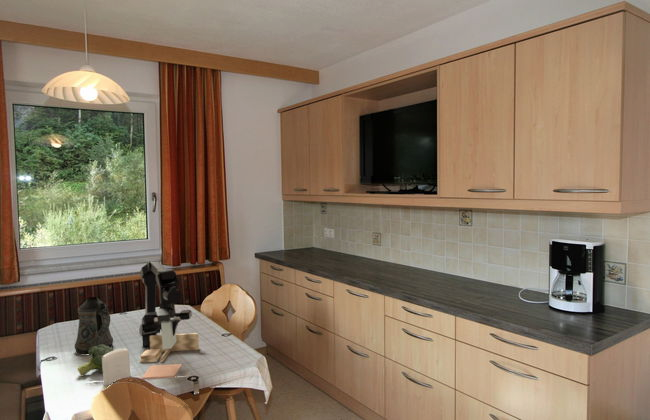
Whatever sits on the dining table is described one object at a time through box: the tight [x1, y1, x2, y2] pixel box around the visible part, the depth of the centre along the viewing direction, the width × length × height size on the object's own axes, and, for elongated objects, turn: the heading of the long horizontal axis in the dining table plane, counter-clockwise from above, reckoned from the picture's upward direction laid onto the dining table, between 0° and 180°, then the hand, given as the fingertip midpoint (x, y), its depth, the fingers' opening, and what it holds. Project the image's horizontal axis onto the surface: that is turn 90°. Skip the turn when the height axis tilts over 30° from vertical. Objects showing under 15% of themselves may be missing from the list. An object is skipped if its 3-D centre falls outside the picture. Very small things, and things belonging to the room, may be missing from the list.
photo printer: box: [102, 348, 131, 386], centre depth 175 cm, size 10×4×12 cm, turn 140°
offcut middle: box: [139, 351, 163, 363], centre depth 196 cm, size 7×8×2 cm
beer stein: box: [73, 296, 114, 355], centre depth 210 cm, size 16×19×25 cm
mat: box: [141, 363, 183, 380], centre depth 182 cm, size 13×12×1 cm
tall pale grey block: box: [161, 318, 177, 349], centre depth 186 cm, size 4×9×11 cm, turn 5°
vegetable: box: [76, 344, 114, 377], centre depth 183 cm, size 12×13×15 cm
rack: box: [149, 332, 200, 363], centre depth 198 cm, size 22×14×8 cm, turn 94°
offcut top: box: [140, 349, 162, 359], centre depth 195 cm, size 6×7×2 cm
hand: (169, 335), depth 186 cm, fingers closed on tall pale grey block, 3 cm apart
